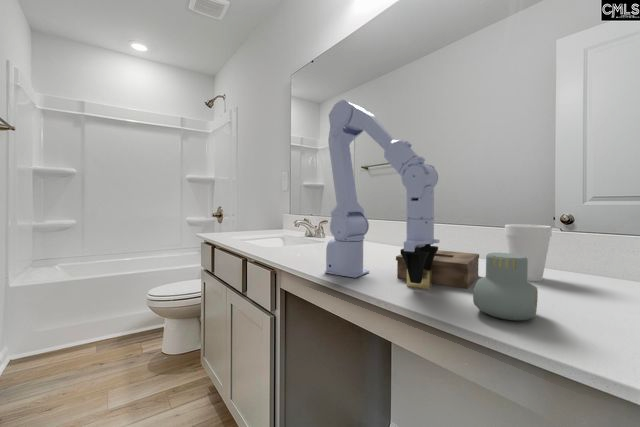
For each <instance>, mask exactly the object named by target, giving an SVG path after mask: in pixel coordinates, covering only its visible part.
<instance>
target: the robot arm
mask: <svg viewBox="0 0 640 427" xmlns="http://www.w3.org/2000/svg"><path fill="white" fill-rule="evenodd" d="M328 118H329V119H328V121H329V131H328V132H329V133H328V140H327V141H328V142H327V143H328V150H329V156H330V165H331V170H332V171H331V172H332V179H333V184H334V185H333V187H334V193H335V200H336V205H335V207H334V208H333V209H332V210H331V211H330V215H331V216H330V218H331V219H330V223H329V230H330V233H331V235H332V237H334V238H332V239H330V240H329V241H328V242H327V244H326V250H325V252H326V255H325V260H326V261H325V262H326V264H325V265H326V266H325V267H326V268H325V270H324V273H325V274H330V275H336V276H344V277H348V278H349V277H350V278H358V277H361V276H363V275H365V274H368V273H370V270H369V269H364V240H365V235H367V233H368V231H369V228H370V223H369V219H367V217H366V214H365V211H364V210H365V209H364V208H363V207H362V205H361V204H360V203H359V202H358V197H357V190H356V184H355V175H354V169H353V162H352V154H351V147H350V145H351V144H352V142H353V141H354V140H356V139H357V138H358V137H359V136H360V135H361V134H362V133H363V132H365V133H366V134H367V135H368V136H369V137H371V139H372V140H374V141H375V143H377V144H378V145H379V146H380V147H381V148H382V149H383V151H384V153H383V158H384V159H385V160H386V161H387V163H388V164H389V165H390V166H391V167H392V168H393V170H395V171H396V173H398V175H399V176H400V178H401V183H402V185H403V186H404V187H405V190H406V238H405V240H404V241H403V248H401V249H400V255H402V257H403V258H404V261H405V263H406V266H407V270H408V274H409V278H410V282H412V283H418V284H420V283H421V281H422V277H423V269H426V270H431V266H432V262H433V259H434V256H435V254H436V252H437V251H438V250H439V246H436V245H435V244H440V241H441V240H440V239H439V238H438V239H437V238H435V227H434V225H435V187H436V185H437V183H438V182H439V172H438V171H437V170H436V168H435V166H434V165H432V164H429V163H428V164H426V163H425V161H426V159H425V157H423V156H420V155H419V154H417V153H416V152H415V150H413V148H412V146H413V144H412V143H410V141H408V140H403V139H397V140H396V139H395V138H394V137H393V135H392V134H391V133H389V131H388V130H387V129H386V127H385V126H384V125H383V124H382V122H380V121H379V120H378V119H377V117H376V116H375V114H374V113H372V112H370V111H369V109H367V108H365V107H361V106H359V105H357V104H354V103H352V102H349V101H348V100H347V99H340V100H338V101H337V102H336V103H334V105H333V107H332V109H331V110H330V112H329V113H328Z"/></svg>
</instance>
